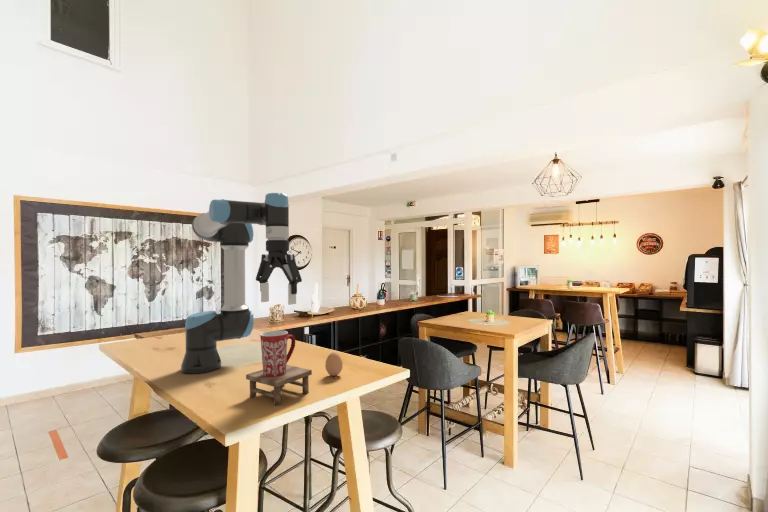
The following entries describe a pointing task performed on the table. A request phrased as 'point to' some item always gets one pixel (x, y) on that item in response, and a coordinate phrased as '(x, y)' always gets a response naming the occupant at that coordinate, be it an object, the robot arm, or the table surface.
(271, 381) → the stool
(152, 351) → the table surface
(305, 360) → the table surface
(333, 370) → the egg
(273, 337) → the mug
